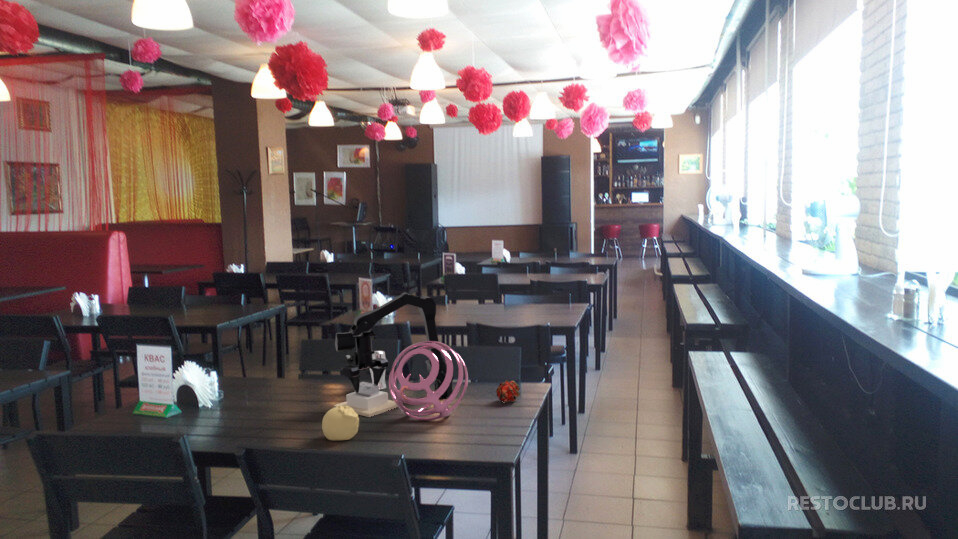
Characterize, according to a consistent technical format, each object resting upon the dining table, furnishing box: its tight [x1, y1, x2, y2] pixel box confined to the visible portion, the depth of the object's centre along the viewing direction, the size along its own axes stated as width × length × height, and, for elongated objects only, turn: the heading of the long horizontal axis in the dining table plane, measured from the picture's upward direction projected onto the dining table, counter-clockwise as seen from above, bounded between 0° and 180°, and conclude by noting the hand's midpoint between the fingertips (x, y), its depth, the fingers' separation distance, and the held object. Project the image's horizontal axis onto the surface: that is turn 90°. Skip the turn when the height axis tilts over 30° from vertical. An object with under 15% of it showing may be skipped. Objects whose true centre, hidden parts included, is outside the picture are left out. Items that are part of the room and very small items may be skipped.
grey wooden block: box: [354, 381, 380, 397], centre depth 260 cm, size 9×4×8 cm, turn 51°
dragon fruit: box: [496, 379, 522, 403], centre depth 260 cm, size 8×8×12 cm
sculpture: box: [321, 405, 360, 441], centre depth 227 cm, size 12×12×11 cm
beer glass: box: [369, 350, 387, 391], centre depth 287 cm, size 7×7×15 cm
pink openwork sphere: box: [388, 340, 469, 422], centre depth 246 cm, size 28×28×27 cm
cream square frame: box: [333, 390, 399, 418], centre depth 261 cm, size 20×16×5 cm
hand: (366, 389), depth 260 cm, fingers open, 9 cm apart
